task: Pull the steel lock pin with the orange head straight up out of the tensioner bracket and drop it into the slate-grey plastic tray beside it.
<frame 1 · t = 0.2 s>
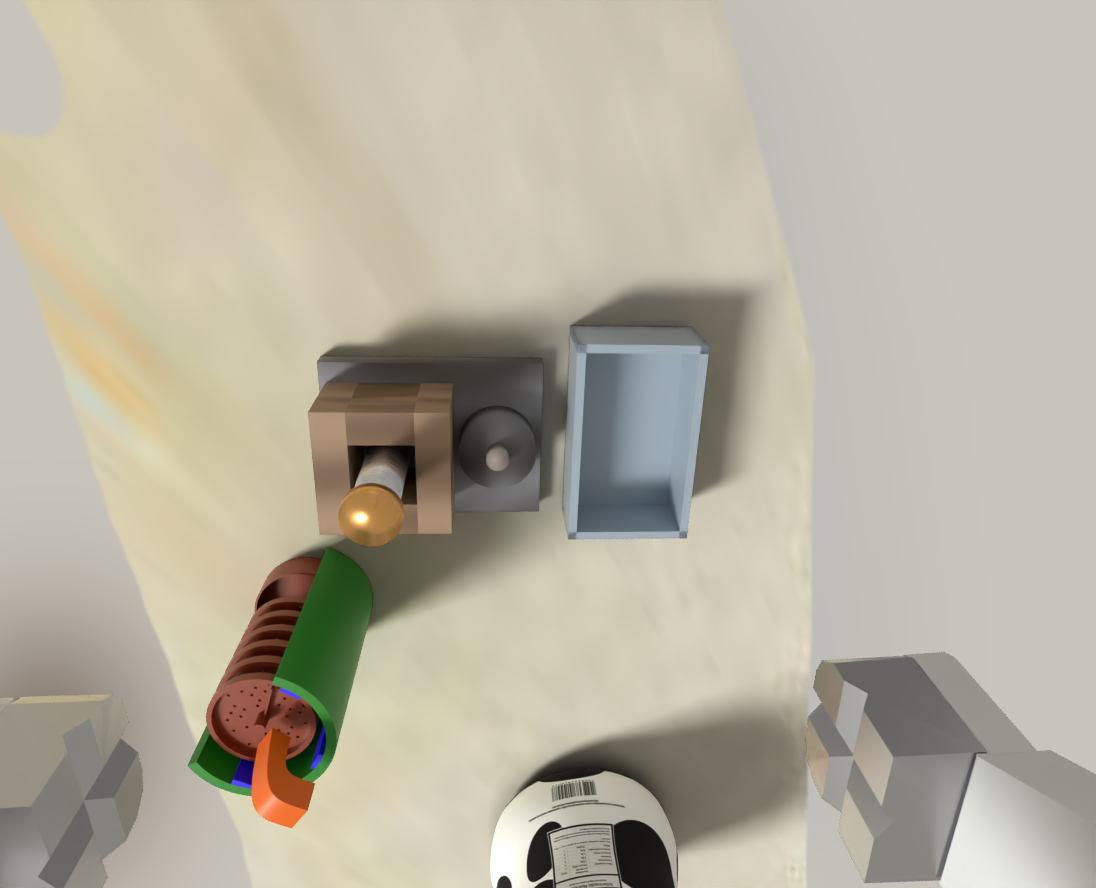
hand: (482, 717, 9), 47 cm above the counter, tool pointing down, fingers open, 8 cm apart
motor: (318, 598, 64), on the counter
lock pin: (392, 440, 57), point 1 cm above the counter, touching tensioner bracket
tensioner bracket: (434, 433, 58), on the counter
milk container: (578, 815, 76), on the counter
tray: (624, 421, 59), on the counter
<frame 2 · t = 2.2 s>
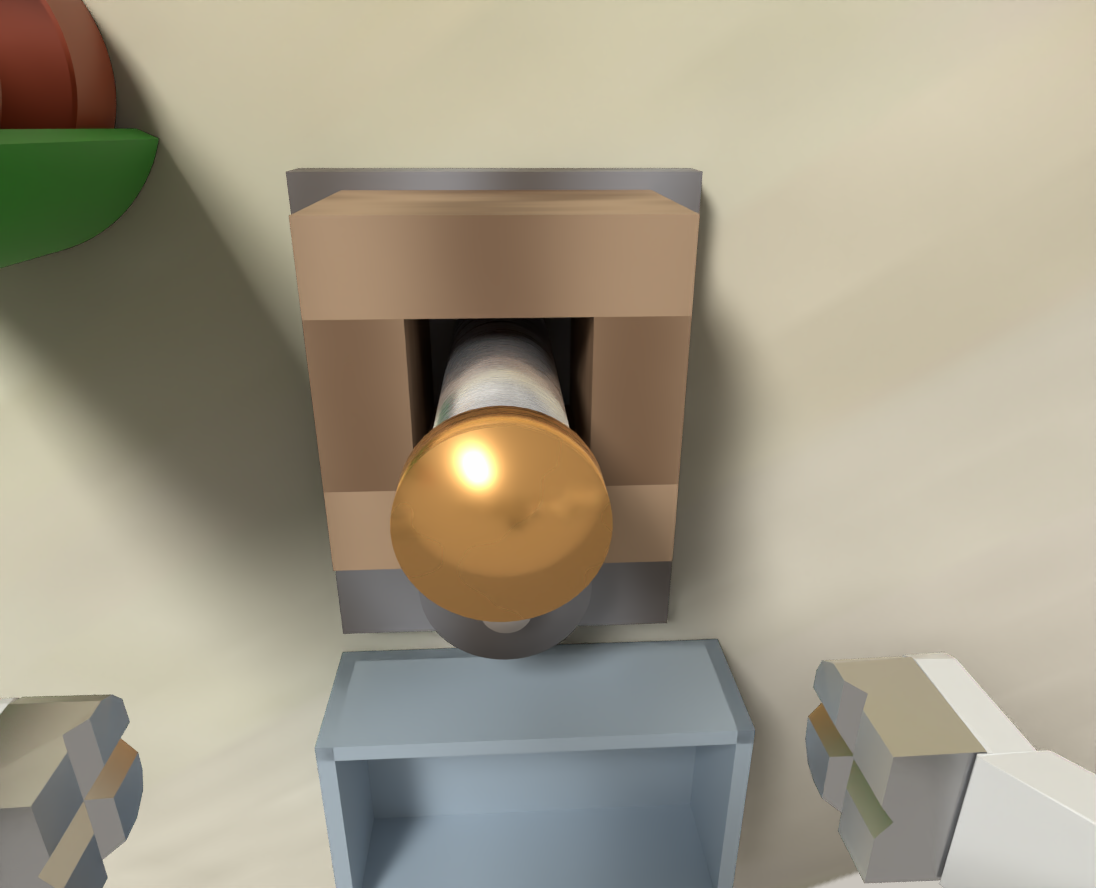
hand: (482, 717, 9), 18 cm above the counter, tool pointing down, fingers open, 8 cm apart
lock pin: (500, 340, 24), point 1 cm above the counter, touching tensioner bracket
tensioner bracket: (502, 412, 27), on the counter
tray: (533, 732, 32), on the counter
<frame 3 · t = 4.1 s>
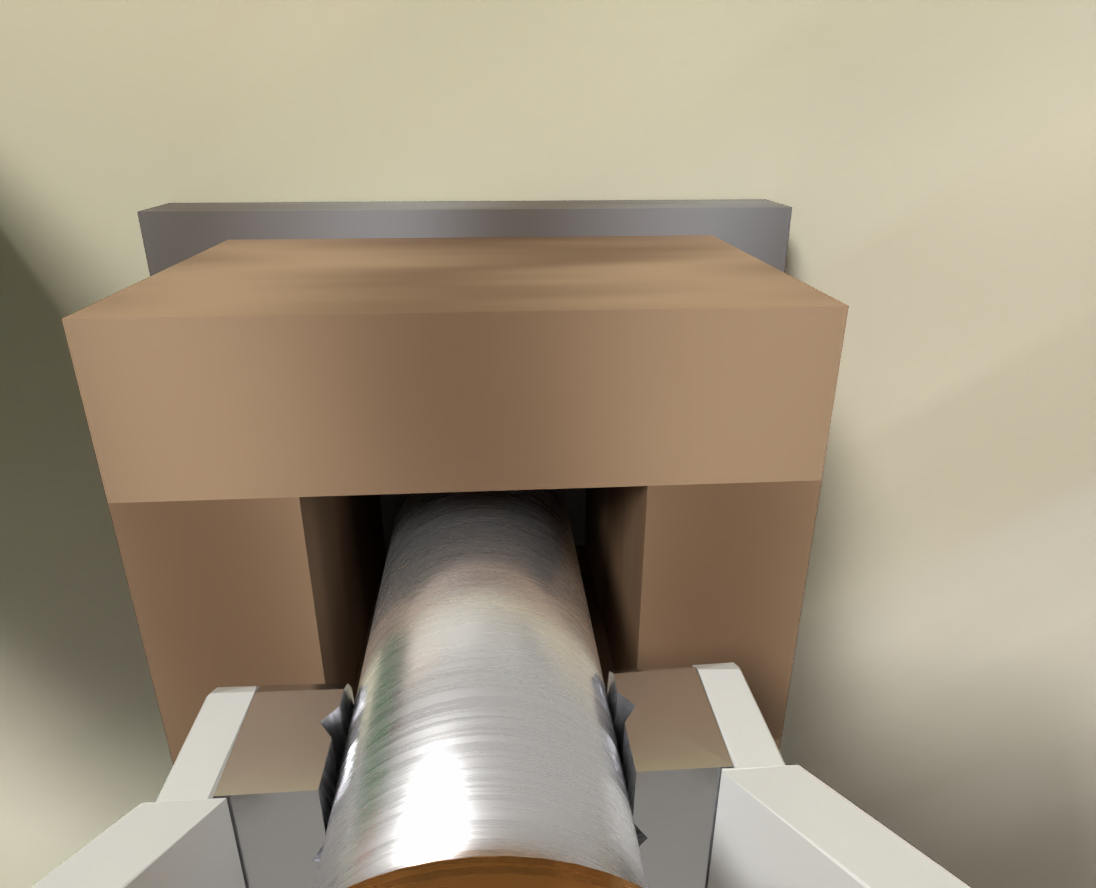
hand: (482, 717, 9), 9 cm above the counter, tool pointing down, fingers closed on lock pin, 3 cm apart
lock pin: (483, 457, 16), point 2 cm above the counter, touching gripper, tensioner bracket
tensioner bracket: (487, 545, 19), on the counter
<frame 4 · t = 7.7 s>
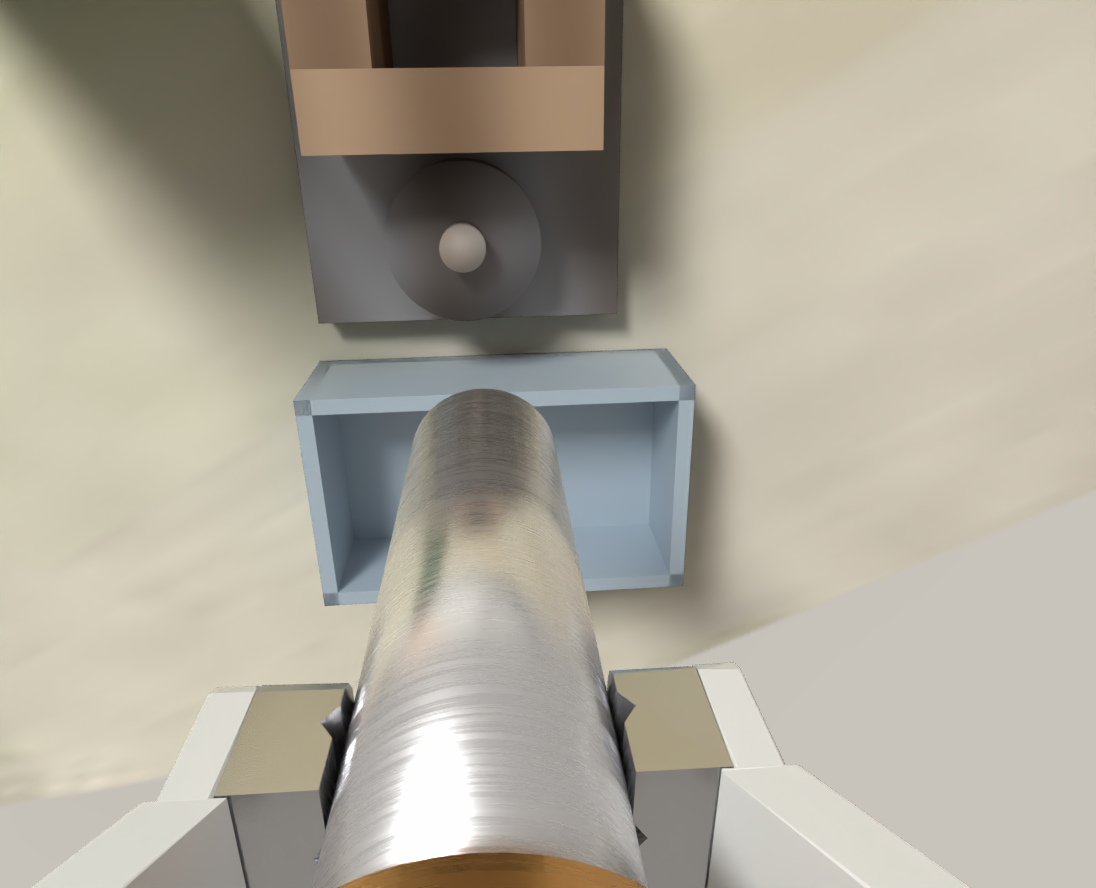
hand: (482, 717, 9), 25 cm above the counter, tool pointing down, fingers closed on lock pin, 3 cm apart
lock pin: (484, 456, 16), point 17 cm above the counter, touching gripper
tensioner bracket: (458, 102, 29), on the counter
tray: (499, 450, 35), on the counter
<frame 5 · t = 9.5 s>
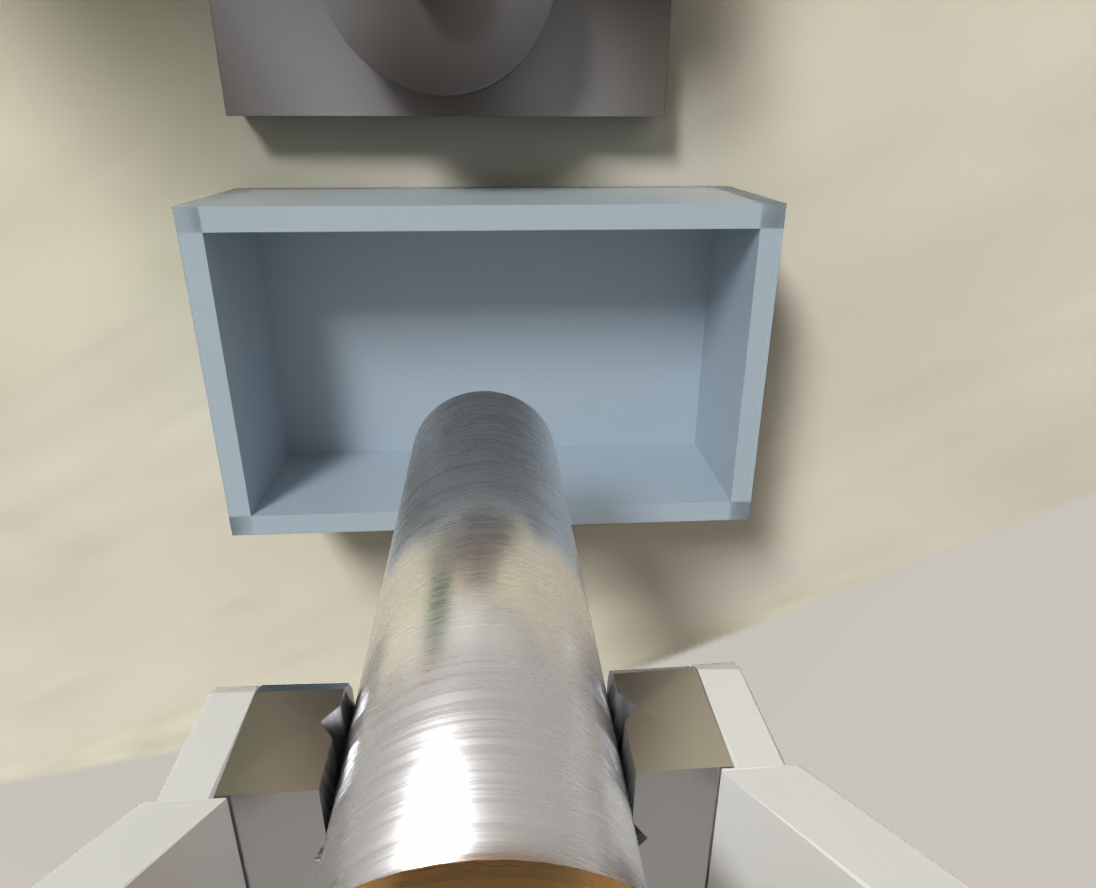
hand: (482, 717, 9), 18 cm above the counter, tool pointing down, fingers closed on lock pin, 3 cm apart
lock pin: (484, 458, 16), point 10 cm above the counter, touching gripper
tray: (491, 331, 25), on the counter
when the fingers open (10 cm above the counter, at t = 11.3 s): lock pin drops 2 cm, resting on tray.
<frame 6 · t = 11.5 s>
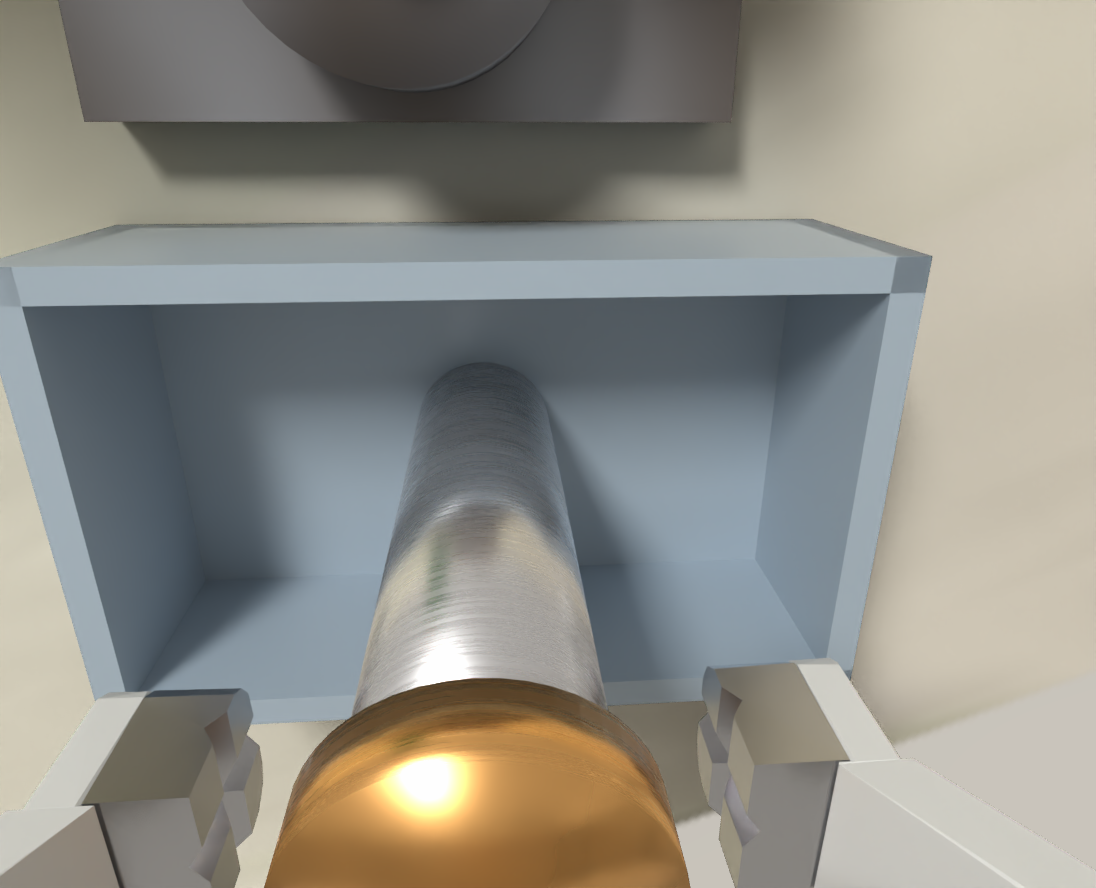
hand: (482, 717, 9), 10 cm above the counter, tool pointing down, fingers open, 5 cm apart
lock pin: (483, 424, 18), point 1 cm above the counter, touching tray
tray: (482, 416, 18), on the counter
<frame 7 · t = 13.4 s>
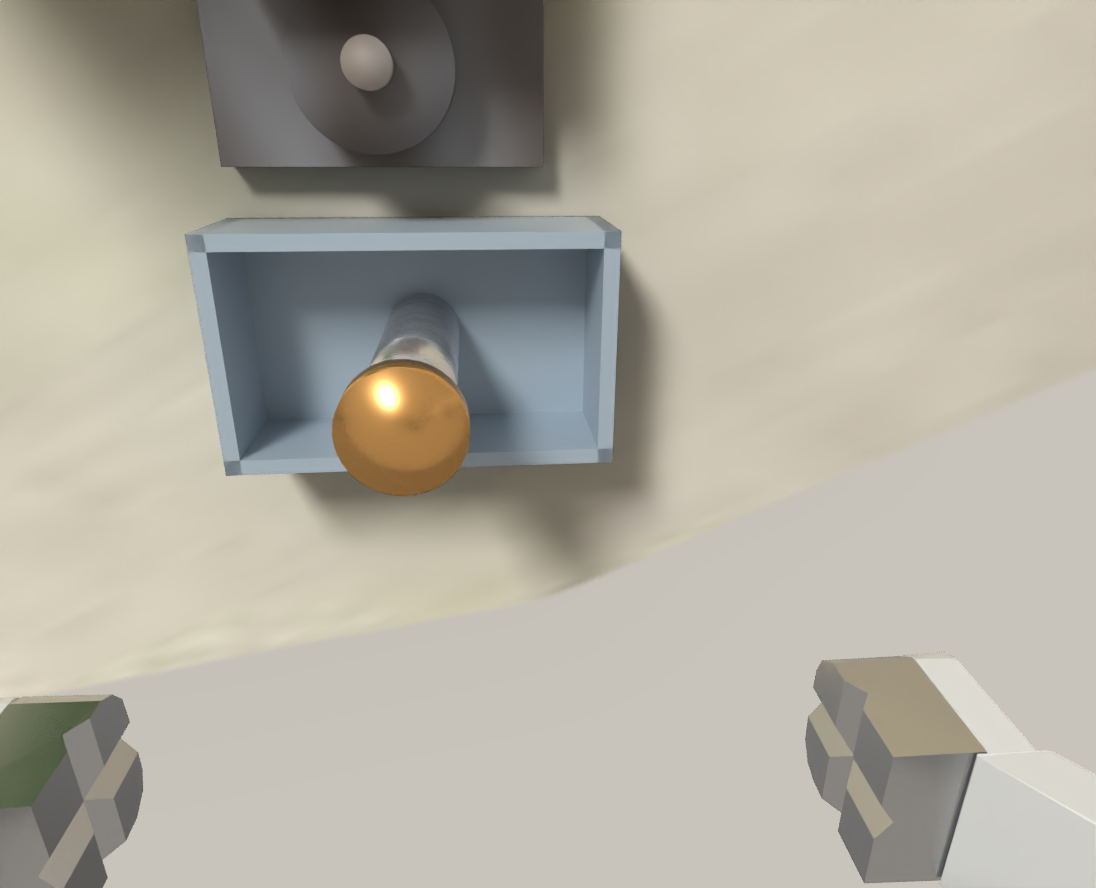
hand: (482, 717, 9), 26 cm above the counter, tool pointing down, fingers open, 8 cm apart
lock pin: (423, 328, 32), point 1 cm above the counter, touching tray
tray: (423, 325, 33), on the counter
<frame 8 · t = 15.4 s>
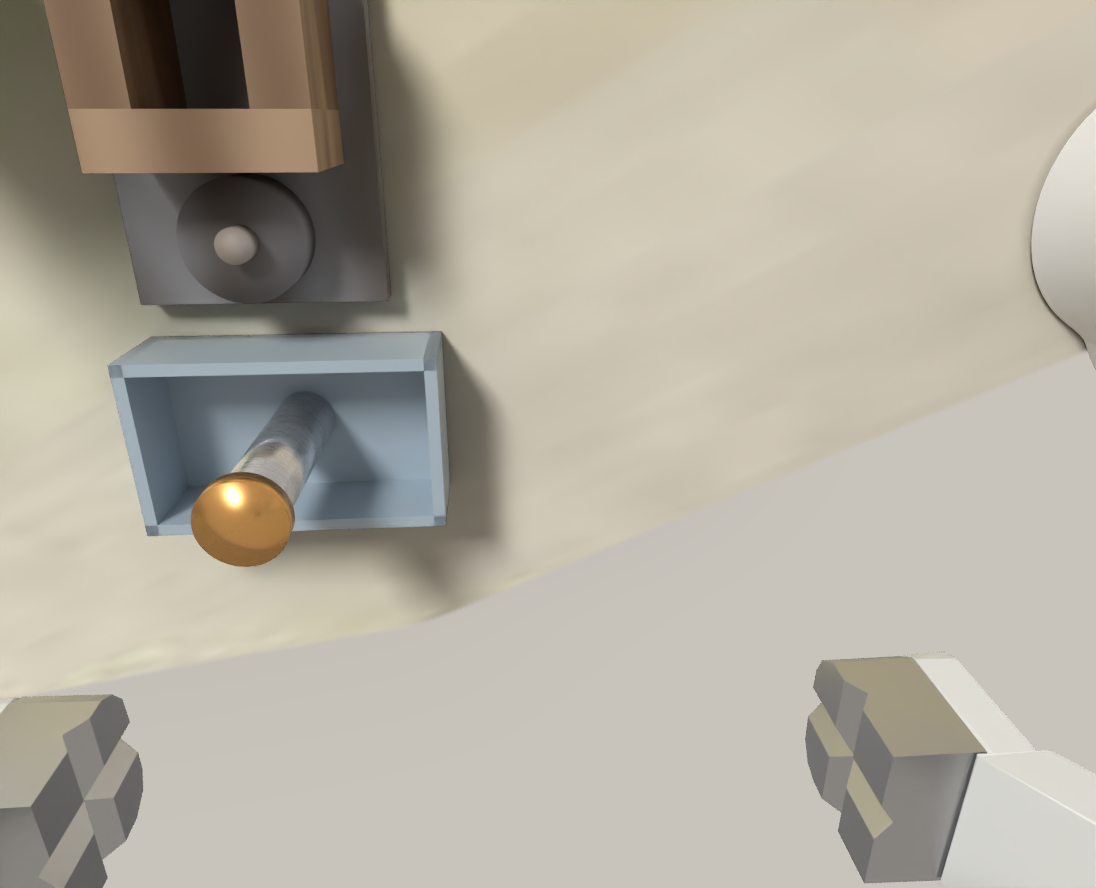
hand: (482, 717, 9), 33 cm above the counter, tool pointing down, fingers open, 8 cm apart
lock pin: (307, 417, 42), point 1 cm above the counter, touching tray
tensioner bracket: (249, 128, 36), on the counter
tray: (308, 414, 42), on the counter
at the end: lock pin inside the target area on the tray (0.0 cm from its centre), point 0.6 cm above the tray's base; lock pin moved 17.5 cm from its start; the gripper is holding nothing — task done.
